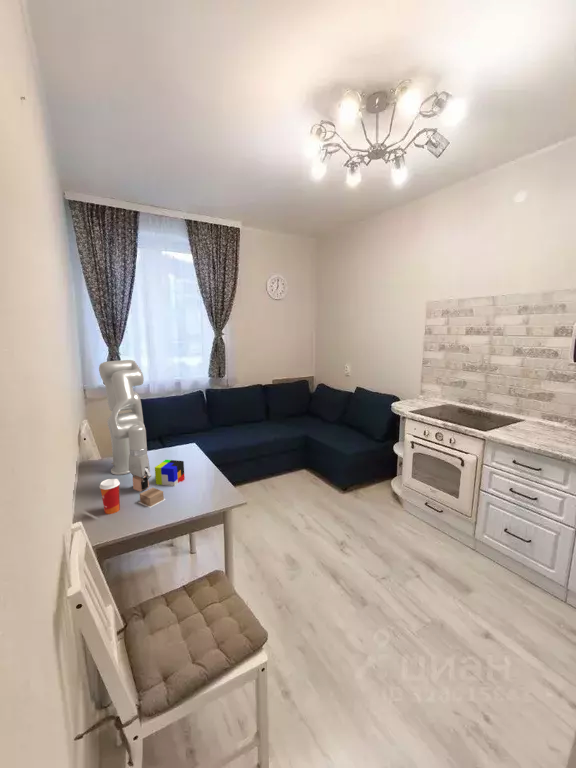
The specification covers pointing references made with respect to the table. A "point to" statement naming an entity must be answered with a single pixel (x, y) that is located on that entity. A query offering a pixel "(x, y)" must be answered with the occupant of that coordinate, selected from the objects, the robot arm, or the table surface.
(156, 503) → the build mat
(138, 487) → the top block
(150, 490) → the base block
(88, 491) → the table surface
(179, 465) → the puzzle toy
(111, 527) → the table surface
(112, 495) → the paper cup
